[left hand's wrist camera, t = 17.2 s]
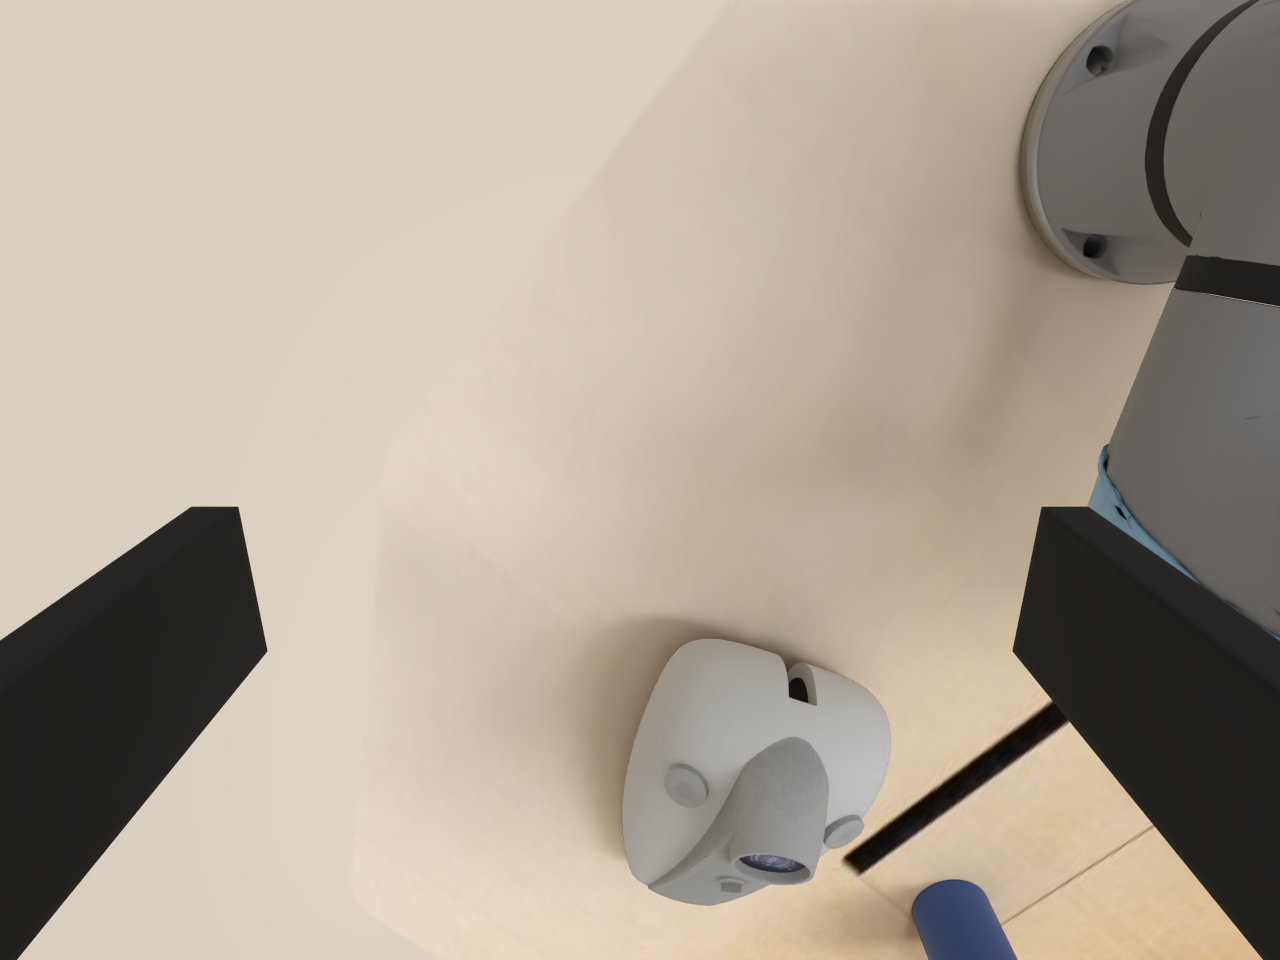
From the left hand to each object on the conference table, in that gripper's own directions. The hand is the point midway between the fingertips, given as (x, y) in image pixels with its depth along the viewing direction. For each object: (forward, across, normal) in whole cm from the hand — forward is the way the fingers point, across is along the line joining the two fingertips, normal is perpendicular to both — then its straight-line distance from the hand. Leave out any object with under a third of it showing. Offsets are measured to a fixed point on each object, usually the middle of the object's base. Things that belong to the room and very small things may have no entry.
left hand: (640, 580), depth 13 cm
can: (+36, +26, -50) cm, 67 cm away
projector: (+36, +7, -34) cm, 50 cm away
